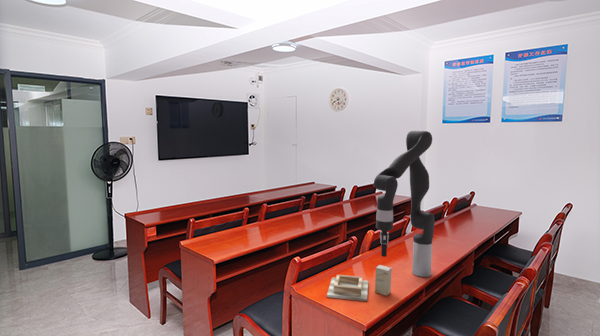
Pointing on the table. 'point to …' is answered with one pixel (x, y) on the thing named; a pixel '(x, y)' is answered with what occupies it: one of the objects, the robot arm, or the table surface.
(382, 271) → the skincare box
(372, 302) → the table surface
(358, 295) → the square collar plate
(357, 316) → the table surface
